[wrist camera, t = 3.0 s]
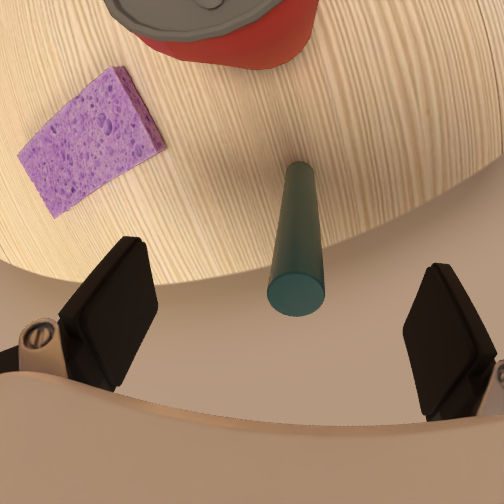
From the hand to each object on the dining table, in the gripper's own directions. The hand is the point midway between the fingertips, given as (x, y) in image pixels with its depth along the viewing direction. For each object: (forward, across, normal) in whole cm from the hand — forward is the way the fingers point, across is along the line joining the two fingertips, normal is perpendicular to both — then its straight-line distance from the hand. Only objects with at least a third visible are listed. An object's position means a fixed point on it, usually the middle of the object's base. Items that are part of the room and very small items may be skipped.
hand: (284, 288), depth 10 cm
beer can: (+12, +2, -10) cm, 16 cm away
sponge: (+12, +16, -2) cm, 20 cm away
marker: (+12, 0, 0) cm, 12 cm away
